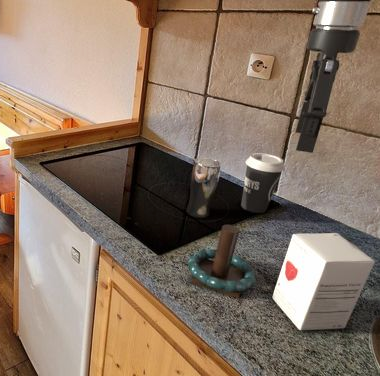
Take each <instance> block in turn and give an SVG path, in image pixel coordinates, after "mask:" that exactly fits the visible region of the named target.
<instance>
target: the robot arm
mask: <svg viewBox="0 0 380 376" xmlns="http://www.w3.org/2000/svg"><path fill="white" fill-rule="evenodd" d="M370 5H371V0H318V3H317V7H313V8H312V10H311V12H312V14H315V16H314V19H313V23H312V25H313V26H315V28H312V30H310V32H309V36H308V40H307V44H306V50H307V51H310V52H316V53H317V52H318V53H317V54H316V58H315V59H314V60H312V64H311V71H310V74H309V82H308V84H307V88H306V91H305V92H304V98H303V103H302V106H301V109H300V114H299V117H298V121H297V124H296V127H295V134H296V133H297V134H299V137H298V141H297V144H296V147H295V151H298V152H305V153H310V154H313V153H314V150H315V147H316V144H317V140H318V137H319V133H320V130H321V127H322V123H323V120H324V118H326V116H327V114H328V112H327V111H328V108H329V102H330V98H331V94H332V90H333V86H334V83H335V81H336V76H337V73H338V71H339V69H340V60H339V59H338V55H339V54H351V53H353V52H355V50H356V48H357V45H358V42H359V38H360V35H361V32H360V30H358V29H359V28H361V27H363V26H364V24H365V21H366V17H367V14H368V11H369V9H370Z"/></svg>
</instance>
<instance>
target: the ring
mask: <svg viewBox="0 0 380 376" xmlns="http://www.w3.org/2000/svg"><path fill="white" fill-rule="evenodd" d="M216 250H217V249H201V250H199V251H196V252H194V253H192V254H190V257H189V260H188V262H187V266H188V269H189V270H190V272H191V274H192V276H194V277H195V278H197V279H198V280H200V281H201V282H203V283H204V284H206V285H207V286H210V287H213V288H216V289H219V290H223V291H240V292H244V291H246V290H248V289H251V288H252V287H253V286H255V285H256V282H257V281H256V280H257V271H256V270H255V269H254V268H253V267H252V265H251V264H250V263H249V261H247V260H246V259H244V258H242V257H240V256H239V255H237V254H235V253H234V254H233V258H232V262H231V265H234V266H235V267H237V268H240V269H241V270H242V271H243V272H244V278H243V279H242V280H240V281H225V280H221V279H218V278H215V277H212V276H210V275H209V274H207V273H206V272H204V271H202V270H201V268H200V266H199V262H200V261H202V260H204V259H210V260H214V259H215V255H216Z"/></svg>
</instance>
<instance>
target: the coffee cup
mask: <svg viewBox="0 0 380 376" xmlns="http://www.w3.org/2000/svg"><path fill="white" fill-rule="evenodd" d="M245 164H246V170H245V177H244V184H243V189H242V197H241V203H240V207H241V208H242V209H244V210H245V211H248V212H251V213H256V214H262V213H265V212H267V209H268V206H269V204H270V202H271V199H272V197H273V194H274V192H275V189H276V187H277V184H278V182H279V179H280V177H281V174H282V172H284V171H285V170H286V166H285V162H284V159H283V158H282V157H279V156H277V155H274V154H270V153H265V152H254V153H252V154H251V155H250V156H249V157H247V159H246V160H245Z"/></svg>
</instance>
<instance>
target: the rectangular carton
mask: <svg viewBox="0 0 380 376" xmlns="http://www.w3.org/2000/svg"><path fill="white" fill-rule="evenodd" d="M375 263H376V260H375V259H373V258H372V257H370V256H369V255H367V254H366V253H365V252H363V251H362V250H361V249H360V248H359V247H357V246H356V245H355V244H353V243H352V242H350V241H349V240H347V239H346V238H344V237H343V236H342V235H341V234H339V233H338V232H329V233H328V232H327V233H323V232H322V233H293V234H292V236H291V239H290V242H289V244H288V248H287V251H286V254H285V257H284V260H283V263H282V267H281V270H280V272H279V274H278V275H279V276H278V278H277V281H276V284H275V287H274V291H273V294H272V297H271V298H272V299H273V301H274V302H275V303H276V304H277V305H278V307H279V308H280V309H281V310H282V311H283V313H284V315H286V316H287V317H288V318H289V319H290V321H291V322H292V323H293V324H294V325H295V327H296V328H297V329H298V330H299V331H316V330H318V331H319V330H338V329H345V328H346V326H347V325H348V322H349V320H350V318H351V315H352V313H353V311H354V309H355V307H356V304H357V302H358V300H359V297H360V296H361V293H362V291H363V289H364V286H365V284H366V283H367V280H368V278H369V276H370V274H371V272H372V269H373V267H374V265H375Z"/></svg>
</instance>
